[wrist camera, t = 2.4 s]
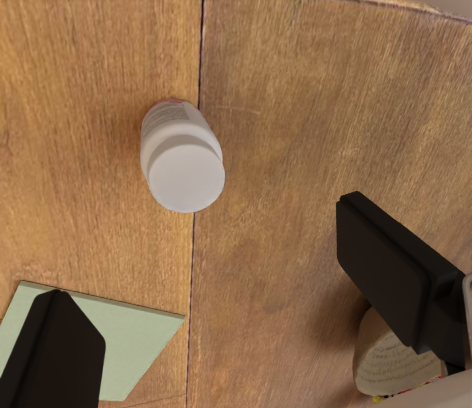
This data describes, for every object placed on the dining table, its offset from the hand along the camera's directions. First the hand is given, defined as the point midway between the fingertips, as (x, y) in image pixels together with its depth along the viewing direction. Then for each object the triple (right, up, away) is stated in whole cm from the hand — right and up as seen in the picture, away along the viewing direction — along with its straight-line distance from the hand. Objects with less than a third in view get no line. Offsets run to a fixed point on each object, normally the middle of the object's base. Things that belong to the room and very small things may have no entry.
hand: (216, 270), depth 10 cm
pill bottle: (-4, +8, +12) cm, 15 cm away
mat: (-16, -13, +21) cm, 30 cm away
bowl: (+22, -12, +33) cm, 41 cm away
